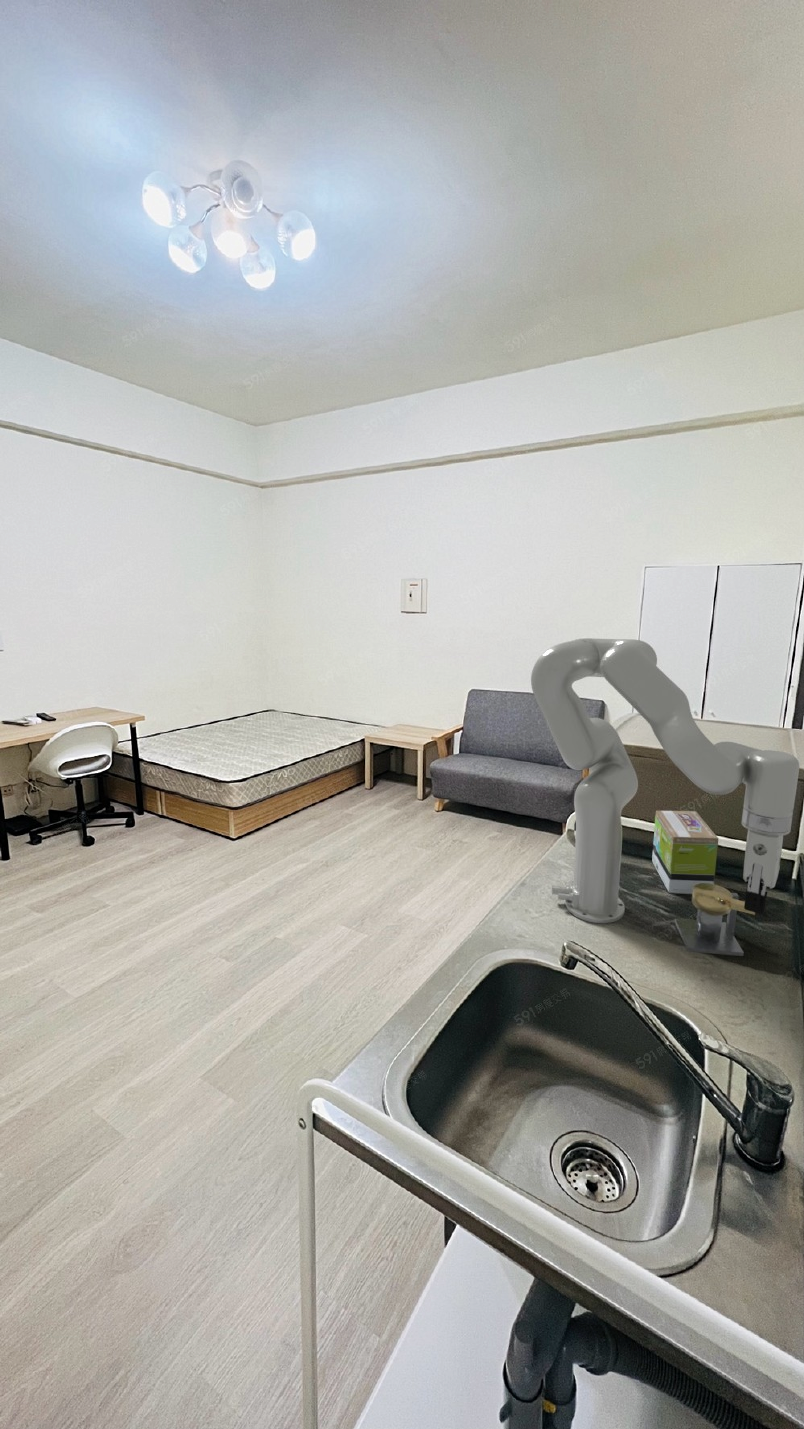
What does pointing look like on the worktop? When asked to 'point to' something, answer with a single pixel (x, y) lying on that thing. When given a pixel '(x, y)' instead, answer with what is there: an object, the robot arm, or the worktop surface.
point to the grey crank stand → (710, 933)
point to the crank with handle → (715, 900)
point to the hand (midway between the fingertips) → (754, 909)
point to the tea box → (683, 850)
